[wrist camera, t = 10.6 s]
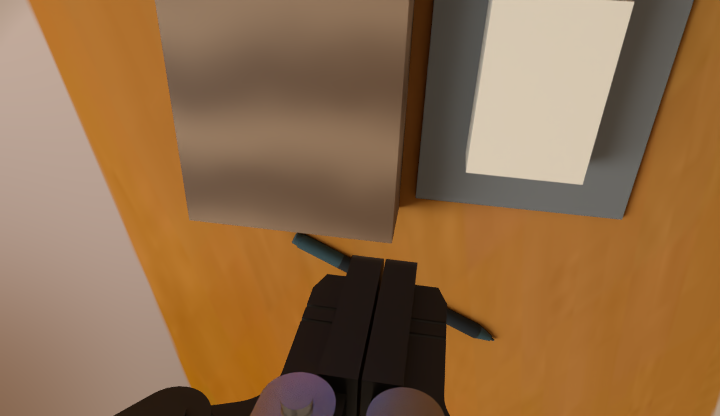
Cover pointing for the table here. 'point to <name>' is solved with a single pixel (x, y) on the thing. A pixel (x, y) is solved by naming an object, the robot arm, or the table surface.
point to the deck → (290, 111)
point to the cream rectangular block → (543, 86)
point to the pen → (343, 264)
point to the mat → (614, 137)
